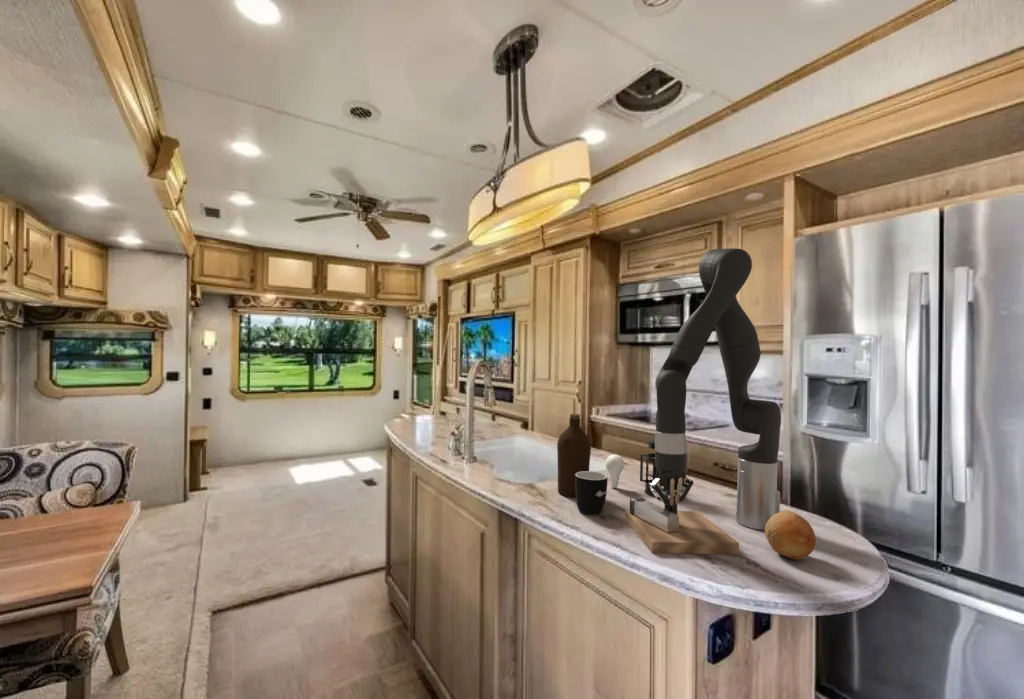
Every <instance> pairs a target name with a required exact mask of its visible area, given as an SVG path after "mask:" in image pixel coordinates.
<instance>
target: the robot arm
mask: <svg viewBox="0 0 1024 699" xmlns="http://www.w3.org/2000/svg"><path fill="white" fill-rule="evenodd" d="M752 268H753V260H752V257H751V255H750V253H749V252H747V251H746V250H745V249H742V248H714V249H710V250H708V251H706V252H705V253H704V254H703V255H702V256H701V258H700V260H699V263H698V274H699V279H700V282H701V284H702V288H703V290H704V293H705V295H706V296H705V299H704V300H703V302H702V303H701V304H700V305H699V306H698V308H696V310H694V312H693V313H692V314H690V316H689V317H688V318H687V319H686V320H685V321H684V322H683V324H682V325H681V327H680V329H679V330H678V333H677V335H676V336H675V339H674V341H673V343H672V345H671V348H670V350H669V353H668V356H667V358H666V359H665V361H664V362H663V365H662V367H661V368H660V370H659V372H658V374H657V376H656V379H655V383H654V385H655V388H656V406H657V410H656V414H655V423H656V424H655V437H654V439H655V450H654V453H655V457H654V459H655V466H656V469H657V473H656V475H655V478H656V479H655V480H654V481H653V482H652V483H650V482H649V483H648V487H649V488H650V490H651V491H652V493H653V494H654V496H655V497H654V498H656V500H657V501H659V502H660V503H663V504H664V509H666V510H668V511H670V512H672V513H674V514H676V515H677V511H678V505H679V503H680V502H684V501H685V499H686V497H687V495H688V494H689V492H690V491H691V488H692V486H693V485H694V480H692V479H690V478H688V476H687V473H686V470H687V469H688V462H687V461H688V457H687V456H688V452H687V451H688V450H687V449H688V446H687V445H688V442H687V436H686V412H685V411H686V403H687V380H688V377H689V376H690V373H691V371H692V369H693V367H695V365H696V364H697V362H698V361H699V359H700V358H701V355H702V353H703V351H704V350H705V347H706V345H707V343H708V341H709V339H710V337H711V335H712V333H713V332H714V329H715V332H716V338H717V343H718V348H719V353H720V356H721V360H722V363H723V364H722V365H723V368H724V374H725V377H726V383H727V388H728V398H729V405H730V412H731V414H730V415H731V419H732V422H733V425H734V427H735V429H737V431H740V432H742V433H747V434H753V435H759V437H758V438H759V439H758V441H757V442H755V443H752V444H746V445H742V446H740V447H738V450H737V451H738V452H737V488H736V490H737V491H736V521H737V523H738V524H740V525H742V526H745V527H747V528H750V529H754V530H761V531H765V525H766V523H767V521H768V520H769V519H770V518H771V517H772V516H773V515H774V514H776V513H779V512H781V492H780V491H779V490H778V489H777V488H778V487H777V484H778V482H777V481H778V479H777V478H778V456H779V450H780V437H781V428H782V427H781V426H782V411H781V408H780V405H779V404H778V403H777V402H776V401H770V400H763V399H752V398H750V397H749V393H748V384H749V381H750V380H751V377H752V375H753V374H754V371H755V370H756V368H757V366H758V365H759V362H760V359H761V356H762V354H761V353H762V352H761V345H760V341H759V338H758V337H759V336H758V333H757V332H758V331H757V330H756V328H755V326H754V324H753V322H752V320H751V319H750V317H749V316H748V314H747V313H746V312H745V310H744V309H743V308H742V306H741V304H740V303H739V301H738V299H737V295H738V293H739V292H740V290H741V289H742V288H743V286H744V284H745V283H746V281H747V280H748V278H749V276H750V274H751V272H752ZM660 486H661V487H660ZM660 489H661V490H660Z"/></svg>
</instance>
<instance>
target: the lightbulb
mask: <svg viewBox="0 0 1024 699" xmlns="http://www.w3.org/2000/svg"><path fill="white" fill-rule="evenodd" d="M605 468H606V470H607V472H608V475H609V482H610V483H609V484H610V485H609V486H610V487H612V488H613V489H616V488H618V486H619V481H620V476H621V474H622V472H623V470H624V468H625V461H624V459H623V457H622V456H620V455H617V454H611V455H609V456H608V457H607V458H606V459H605Z"/></svg>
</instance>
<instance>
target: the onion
mask: <svg viewBox="0 0 1024 699" xmlns="http://www.w3.org/2000/svg"><path fill="white" fill-rule="evenodd" d="M764 535H765V538H766V541H767V542H768V544H769V545H770V548H771V549H772V550H773V551H774V552H775V553H777V554H779V555H782V556H783V557H786V558H789V559H791V560H794V561H795V560H802V559H804V558H806V557H808V556H810V554H812V553H813V551H814V550H815V547H816V545H817V536H816V534H815V531H814V528H813V527H812V525H811V524H810V522H808V520H807V519H806V518H804V517H803V516H802V515H800V514H798V513H796V512H793V511H791V510H787V509H785V510H782V511H781V510H780V512H779V513H776V514H774V515H773V516H772V517H771V518H770V519H769V520H768V521H767V523H766V525H765V530H764Z"/></svg>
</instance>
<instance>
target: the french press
mask: <svg viewBox="0 0 1024 699" xmlns="http://www.w3.org/2000/svg"><path fill="white" fill-rule="evenodd" d="M654 424H655V425H656V422H654ZM646 442H647V448H648V449H651V450H654V451H655V438H648V439H646ZM644 457H645V465H646V466H645V479H643V476H644ZM639 462H640V464H639V465H640V466H639V467H640V468H639V470H640V471H639V482H643V483H645V484H644V486H645V489H644V493H645V495H647V496H650V497H651V498H652V497H653V498H656V497H655V496H654V494H653V493H652V491H651V490H650V488H649V487H648V483H649V482H650V483H652V482H653V481H654V480H655V479H656V478H655V475H656V473H657V469H656V466H655V452H651V453H641V454H640V461H639ZM649 462H650V463H652V470H649V464H650V463H649ZM649 477H651V479H649ZM660 487H661V486H660ZM660 490H661V489H660Z"/></svg>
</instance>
